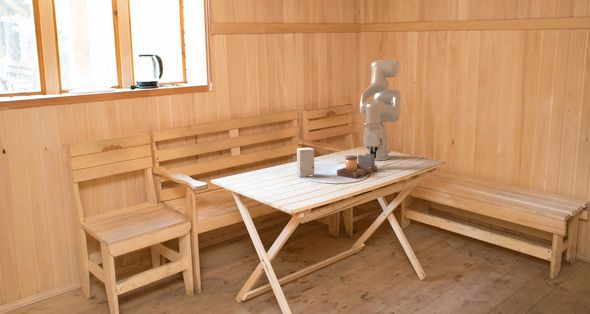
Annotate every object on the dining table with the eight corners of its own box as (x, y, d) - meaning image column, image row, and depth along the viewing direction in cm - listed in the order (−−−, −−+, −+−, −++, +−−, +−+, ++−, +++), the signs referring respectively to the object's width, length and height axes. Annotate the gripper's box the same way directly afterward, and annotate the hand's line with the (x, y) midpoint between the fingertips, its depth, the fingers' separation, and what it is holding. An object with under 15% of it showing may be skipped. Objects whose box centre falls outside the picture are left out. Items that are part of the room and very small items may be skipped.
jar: (349, 171, 303) (349, 155, 301) (359, 172, 299) (359, 156, 297) (343, 173, 298) (342, 157, 296) (353, 174, 294) (353, 158, 292)
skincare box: (300, 177, 297) (299, 150, 294) (296, 175, 303) (295, 148, 300) (315, 176, 300) (314, 148, 296) (311, 173, 305) (310, 146, 302)
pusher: (364, 165, 314) (364, 153, 312) (377, 167, 308) (377, 154, 307) (358, 167, 310) (358, 154, 308) (371, 169, 304) (370, 156, 303)
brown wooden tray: (358, 168, 313) (358, 162, 313) (376, 170, 305) (376, 165, 305) (337, 175, 299) (336, 170, 298) (355, 178, 291) (355, 173, 290)
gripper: (357, 125, 310) (358, 158, 314) (380, 127, 301) (380, 161, 304) (365, 123, 316) (365, 155, 319) (388, 125, 306) (388, 158, 310)
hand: (373, 158), depth 312 cm, fingers closed
